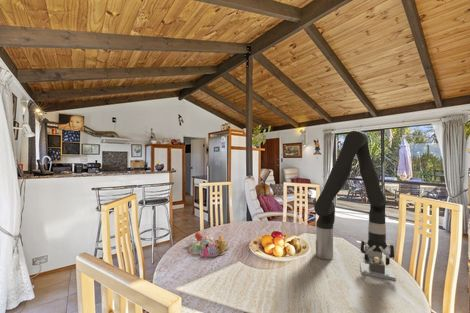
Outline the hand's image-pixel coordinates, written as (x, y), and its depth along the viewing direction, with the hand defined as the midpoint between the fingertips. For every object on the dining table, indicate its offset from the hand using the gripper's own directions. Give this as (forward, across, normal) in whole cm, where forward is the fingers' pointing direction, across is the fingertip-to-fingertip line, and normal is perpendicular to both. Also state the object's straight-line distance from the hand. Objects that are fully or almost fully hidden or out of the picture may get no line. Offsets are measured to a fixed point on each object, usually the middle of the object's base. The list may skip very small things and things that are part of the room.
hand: (376, 263), depth 114 cm
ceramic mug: (+5, 0, +18) cm, 18 cm away
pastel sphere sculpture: (+5, -92, -12) cm, 92 cm away
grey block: (+3, 0, 0) cm, 3 cm away
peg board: (+5, 0, 0) cm, 5 cm away
